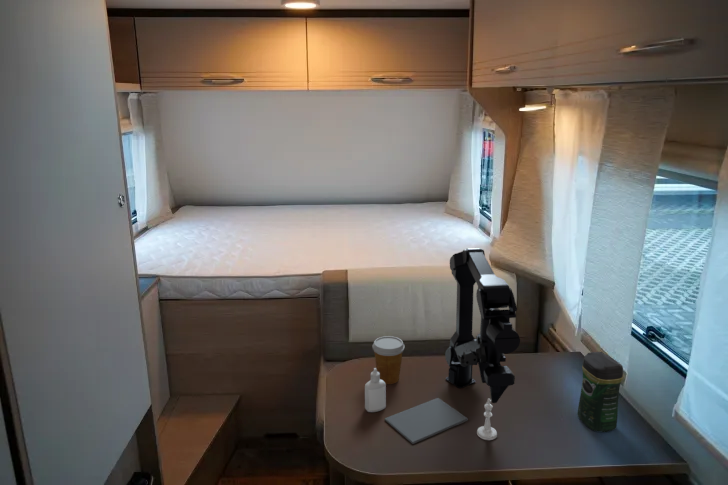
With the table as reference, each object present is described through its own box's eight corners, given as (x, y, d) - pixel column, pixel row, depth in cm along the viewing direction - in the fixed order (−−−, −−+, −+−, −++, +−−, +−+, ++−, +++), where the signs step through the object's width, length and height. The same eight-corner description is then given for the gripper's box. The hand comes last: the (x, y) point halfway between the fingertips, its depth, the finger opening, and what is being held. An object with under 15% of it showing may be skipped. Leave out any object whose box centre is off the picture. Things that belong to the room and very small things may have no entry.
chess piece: (473, 434, 136) (474, 399, 133) (483, 425, 139) (485, 391, 137) (490, 442, 133) (492, 406, 130) (500, 433, 136) (502, 398, 133)
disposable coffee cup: (384, 368, 169) (383, 332, 166) (410, 376, 164) (410, 340, 160) (366, 381, 162) (365, 344, 158) (393, 390, 156) (393, 352, 153)
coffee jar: (622, 431, 136) (630, 365, 131) (593, 435, 135) (601, 368, 130) (599, 410, 145) (606, 347, 140) (572, 414, 144) (578, 350, 139)
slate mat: (437, 399, 151) (438, 397, 151) (467, 420, 142) (467, 418, 141) (384, 420, 142) (384, 418, 142) (412, 444, 132) (412, 441, 132)
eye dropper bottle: (385, 413, 145) (385, 373, 142) (364, 412, 146) (363, 372, 143) (386, 404, 149) (386, 365, 146) (365, 403, 150) (365, 364, 147)
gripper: (450, 319, 137) (449, 374, 142) (467, 353, 119) (464, 415, 124) (494, 317, 138) (491, 372, 142) (517, 351, 120) (513, 413, 124)
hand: (488, 392), depth 133 cm, fingers open, 9 cm apart
